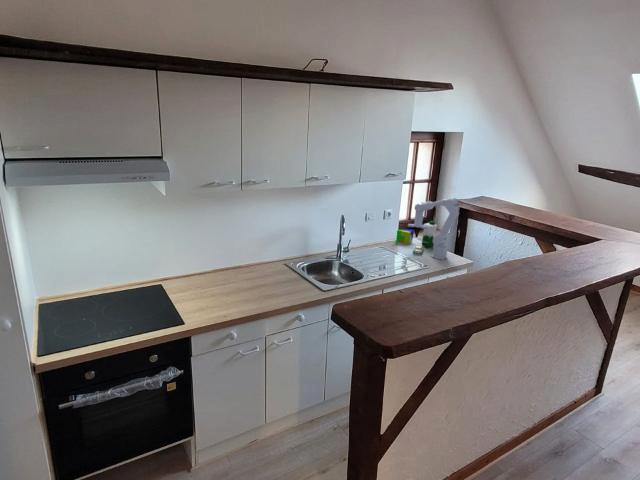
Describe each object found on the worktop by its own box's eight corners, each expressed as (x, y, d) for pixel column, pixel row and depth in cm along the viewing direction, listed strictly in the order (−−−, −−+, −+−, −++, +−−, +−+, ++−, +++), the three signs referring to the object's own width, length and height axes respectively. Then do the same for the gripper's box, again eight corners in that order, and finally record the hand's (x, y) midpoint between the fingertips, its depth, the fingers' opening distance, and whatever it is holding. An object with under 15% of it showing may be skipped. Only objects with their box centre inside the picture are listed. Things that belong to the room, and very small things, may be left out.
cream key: (421, 249, 307) (421, 247, 307) (415, 249, 308) (415, 247, 308) (421, 248, 311) (421, 246, 310) (416, 247, 312) (416, 245, 311)
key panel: (421, 255, 301) (421, 252, 301) (412, 253, 303) (413, 251, 302) (423, 248, 317) (423, 246, 316) (415, 247, 318) (415, 244, 318)
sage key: (420, 253, 303) (420, 251, 302) (414, 252, 304) (414, 250, 303) (420, 251, 306) (420, 249, 306) (415, 250, 307) (415, 249, 307)
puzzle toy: (412, 241, 333) (413, 230, 330) (407, 244, 325) (409, 232, 322) (400, 239, 338) (401, 227, 335) (396, 242, 330) (397, 230, 327)
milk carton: (435, 246, 323) (438, 222, 317) (429, 249, 317) (432, 223, 311) (425, 244, 329) (429, 219, 323) (419, 246, 323) (422, 221, 317)
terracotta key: (421, 247, 312) (422, 246, 311) (416, 247, 313) (416, 245, 312) (422, 246, 315) (422, 244, 315) (417, 245, 317) (417, 243, 316)
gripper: (429, 219, 307) (426, 236, 311) (409, 217, 311) (407, 234, 315) (428, 221, 300) (426, 239, 304) (408, 219, 305) (406, 236, 309)
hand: (416, 237), depth 309 cm, fingers closed
